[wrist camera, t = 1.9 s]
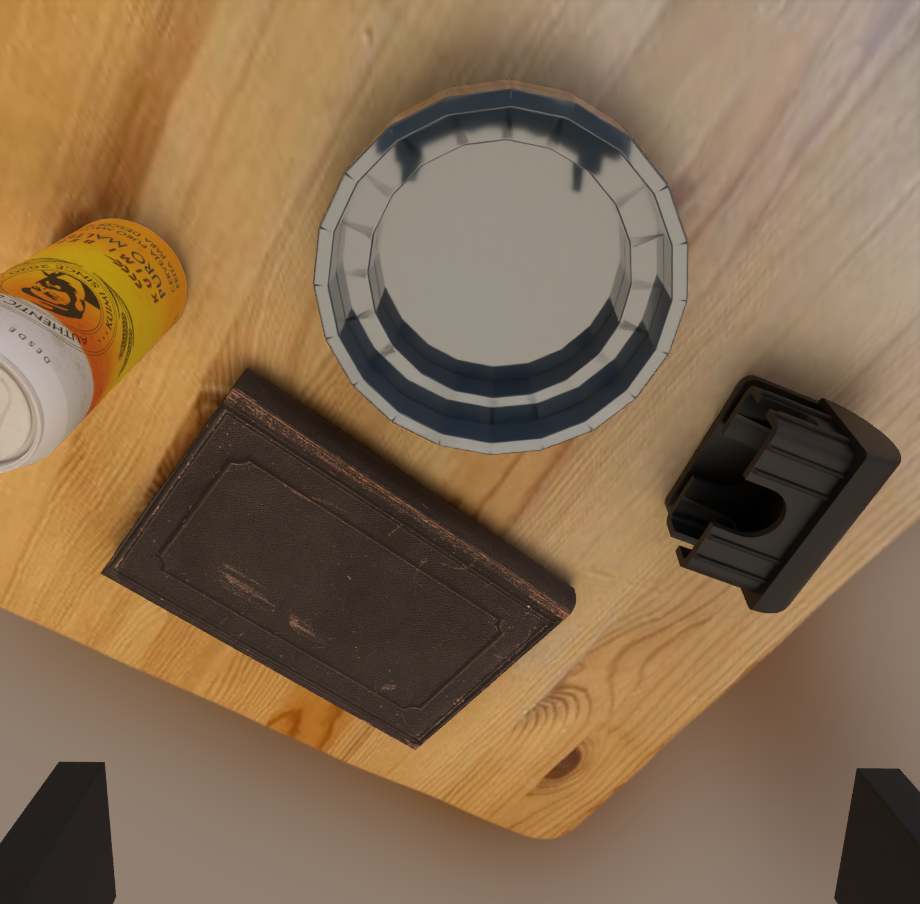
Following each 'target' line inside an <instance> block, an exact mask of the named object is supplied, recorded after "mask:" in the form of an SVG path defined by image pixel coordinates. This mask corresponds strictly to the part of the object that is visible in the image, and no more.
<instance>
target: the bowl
mask: <svg viewBox="0 0 920 904" xmlns="http://www.w3.org/2000/svg"><path fill="white" fill-rule="evenodd" d="M313 284H314V286H313V287H314V291H315V296H316V300H317V305H318V309H319V314H320V318H321V323H322V327H323V332H324V336H325V338H326V341H327V343H328V345H329V346H330V348H331V350H332V352H333V353H334V355H335V357H336V358H337V360H338V362H339V364H340V365H341V367H342V369H343V370H344V372H345V374H346V376H347V377H348V379H349V381H350V382H351V384H352V385H353V386H354V388H356V389H357V390H358V391H359V392H360V393H361V394H362V395H363V396H364V397H365V398H366V399H367V400H369V401H370V402H371V403H372V404H373V405H374V406H375V407H376V408H377V409H378V410H379V411H380V412H381V413H383V414H384V415H385V416H386V417H387V418H388V419H389V420H390V421H392V422H393V423H395V424H397V425H399V426H401V427H403V428H405V429H407V430H409V431H411V432H413V433H415V434H417V435H419V436H421V437H423V438H425V439H427V440H429V441H431V442H433V443H435V444H439V445H440V446H445V447H451V448H456V449H461V450H467V451H472V452H478V453H483V454H488V455H490V454H491V455H494V454H505V453H517V452H528V451H539V450H543V449H546V448H549V447H552V446H554V445H557V444H559V443H562V442H565V441H567V440H570V439H573V438H575V437H578V436H580V435H583V434H586V433H588V432H591V431H592V430H595V429H596V428H597V427H599V426H600V425H601V424H603V423H604V422H605V421H607V420H608V419H609V418H611V417H612V416H613V415H615V414H616V413H617V412H619V411H620V410H621V409H623V408H624V407H625V406H627V405H628V404H629V403H631V402H632V401H633V400H635V399H636V397H637V396H638V395H639V394H640V392H641V391H642V390H643V388H644V387H645V386H646V384H647V383H648V382H649V380H650V379H651V377H652V376H653V375H654V373H655V372H656V371H657V369H658V368H659V367H660V365H661V364H662V363H663V361H664V360H665V359H666V357H667V356H668V353H670V350H671V347H672V344H673V341H674V338H675V335H676V332H677V329H678V327H679V324H680V321H681V318H682V315H683V312H684V309H685V306H686V303H687V299H688V242H687V237H686V234H685V231H684V228H683V225H682V222H681V219H680V216H679V213H678V210H677V207H676V204H675V202H674V199H673V196H672V193H671V190H670V187H669V186H668V183H667V182H666V180H665V179H664V178H663V177H662V175H661V174H660V173H659V172H658V170H657V169H656V168H655V167H654V165H653V164H652V163H651V161H650V160H649V159H648V158H647V156H646V155H645V154H644V153H643V151H642V150H641V149H640V148H639V146H638V145H637V144H636V143H635V141H634V140H633V139H632V137H631V136H630V135H629V134H628V133H627V132H626V131H625V130H624V129H623V127H622V126H621V125H620V124H619V123H618V122H617V121H615V120H613V119H612V118H610V117H609V116H607V115H605V114H604V113H602V112H601V111H599V110H597V109H596V108H594V107H593V106H591V105H589V104H588V103H586V102H585V101H583V100H581V99H580V98H578V97H576V96H575V95H573V94H572V93H570V92H567V91H564V90H559V89H555V88H550V87H545V86H541V85H536V84H531V83H527V82H522V81H517V80H512V79H510V80H509V79H505V80H498V81H491V82H483V83H476V84H468V85H461V86H453V87H451V88H450V87H449V88H447V89H445V90H443V91H441V92H439V93H437V94H435V95H433V96H431V97H429V98H427V99H426V100H424V101H422V102H420V103H418V104H416V105H414V106H412V107H410V108H408V109H406V110H404V111H402V112H400V113H398V115H396V116H395V117H394V118H393V119H392V120H391V121H390V122H389V123H388V124H387V125H386V126H385V127H384V128H383V130H382V131H381V132H380V133H379V134H378V135H377V136H376V137H375V138H374V139H373V140H372V141H371V142H370V143H369V144H368V145H367V146H366V147H365V148H364V149H363V150H362V152H361V153H360V154H359V155H358V156H357V157H356V158H355V159H354V161H353V162H352V163H351V164H350V166H349V167H348V168H347V169H346V170H345V172H344V173H343V175H342V177H341V180H340V182H339V184H338V186H337V188H336V191H335V193H334V195H333V197H332V199H331V201H330V204H329V206H328V208H327V210H326V212H325V214H324V217H323V219H322V221H321V223H320V227H319V230H318V240H317V249H316V259H315V269H314V279H313Z"/></svg>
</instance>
